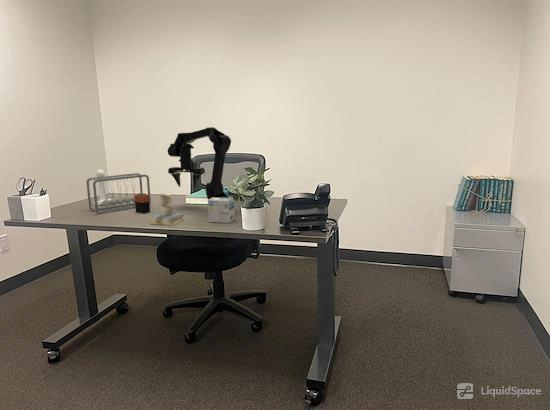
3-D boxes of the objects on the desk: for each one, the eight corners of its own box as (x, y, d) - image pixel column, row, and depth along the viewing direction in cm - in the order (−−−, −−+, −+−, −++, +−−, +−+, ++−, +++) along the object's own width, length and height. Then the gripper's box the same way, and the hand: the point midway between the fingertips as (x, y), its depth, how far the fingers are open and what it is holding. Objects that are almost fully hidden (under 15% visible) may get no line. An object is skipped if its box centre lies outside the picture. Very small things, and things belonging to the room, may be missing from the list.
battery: (143, 213, 209) (142, 194, 207) (135, 212, 213) (133, 193, 211) (150, 212, 213) (149, 193, 211) (142, 210, 217) (140, 192, 214)
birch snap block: (171, 213, 193) (169, 193, 191) (172, 215, 189) (171, 194, 187) (161, 214, 192) (159, 193, 190) (162, 216, 187) (160, 195, 185)
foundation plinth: (183, 220, 195) (183, 213, 194) (171, 225, 184) (171, 218, 184) (163, 218, 198) (163, 212, 197) (150, 224, 187) (149, 217, 187)
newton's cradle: (142, 203, 236) (140, 172, 233) (151, 205, 229) (148, 174, 225) (89, 211, 216) (85, 178, 213) (96, 214, 209) (92, 180, 205)
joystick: (110, 202, 240) (106, 168, 236) (117, 203, 236) (114, 169, 232) (92, 205, 231) (88, 170, 227) (99, 207, 227) (96, 171, 223)
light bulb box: (234, 219, 194) (234, 197, 192) (230, 223, 187) (229, 200, 185) (213, 218, 196) (212, 196, 194) (208, 222, 190) (207, 199, 188)
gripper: (208, 156, 218) (210, 185, 221) (177, 155, 223) (179, 184, 226) (199, 158, 207) (200, 188, 211) (166, 157, 213) (168, 187, 216)
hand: (187, 186), depth 216 cm, fingers open, 9 cm apart
